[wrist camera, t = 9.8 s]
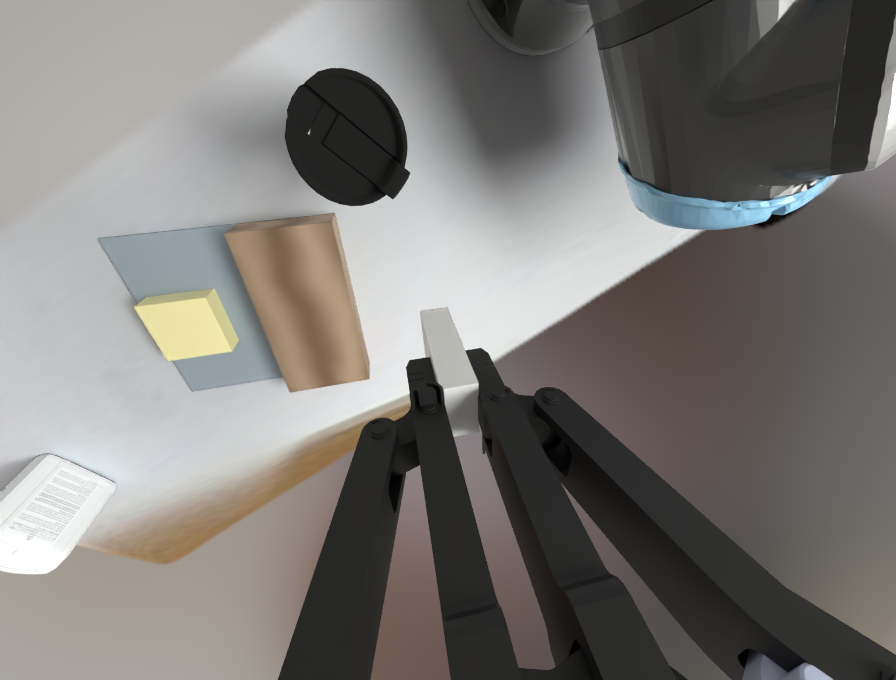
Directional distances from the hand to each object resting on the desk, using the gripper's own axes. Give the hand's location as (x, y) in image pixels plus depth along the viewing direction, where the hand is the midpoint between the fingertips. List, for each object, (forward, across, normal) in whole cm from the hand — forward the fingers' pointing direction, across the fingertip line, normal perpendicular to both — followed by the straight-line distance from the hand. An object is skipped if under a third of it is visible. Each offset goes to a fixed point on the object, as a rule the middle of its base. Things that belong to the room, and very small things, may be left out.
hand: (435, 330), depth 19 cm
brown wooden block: (+24, -12, -8) cm, 28 cm away
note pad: (+21, -25, -8) cm, 34 cm away
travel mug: (+24, -3, +9) cm, 26 cm away
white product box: (+24, -50, -29) cm, 63 cm away
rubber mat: (+24, -24, -8) cm, 35 cm away
